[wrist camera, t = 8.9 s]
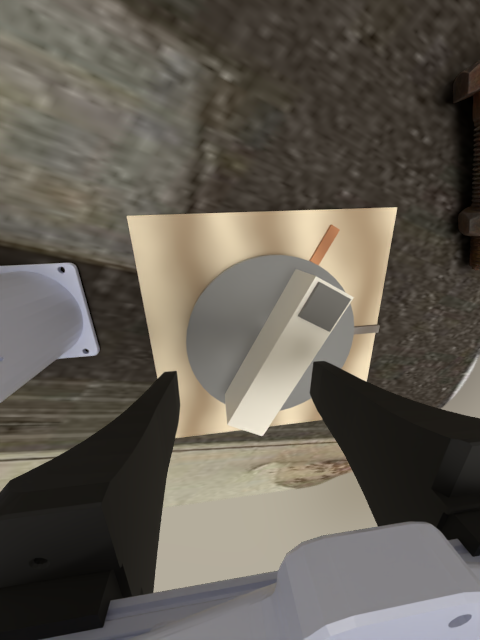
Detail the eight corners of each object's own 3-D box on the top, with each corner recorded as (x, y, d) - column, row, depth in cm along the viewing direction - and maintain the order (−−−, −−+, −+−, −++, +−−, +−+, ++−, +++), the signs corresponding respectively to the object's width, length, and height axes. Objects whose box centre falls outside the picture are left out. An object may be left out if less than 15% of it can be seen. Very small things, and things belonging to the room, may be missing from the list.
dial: (295, 422, 23) (315, 466, 19) (161, 375, 20) (146, 416, 15) (378, 301, 20) (427, 320, 15) (234, 219, 16) (243, 211, 12)
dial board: (172, 423, 24) (168, 440, 22) (135, 218, 18) (125, 215, 15) (350, 402, 26) (363, 416, 24) (380, 210, 19) (400, 206, 17)
